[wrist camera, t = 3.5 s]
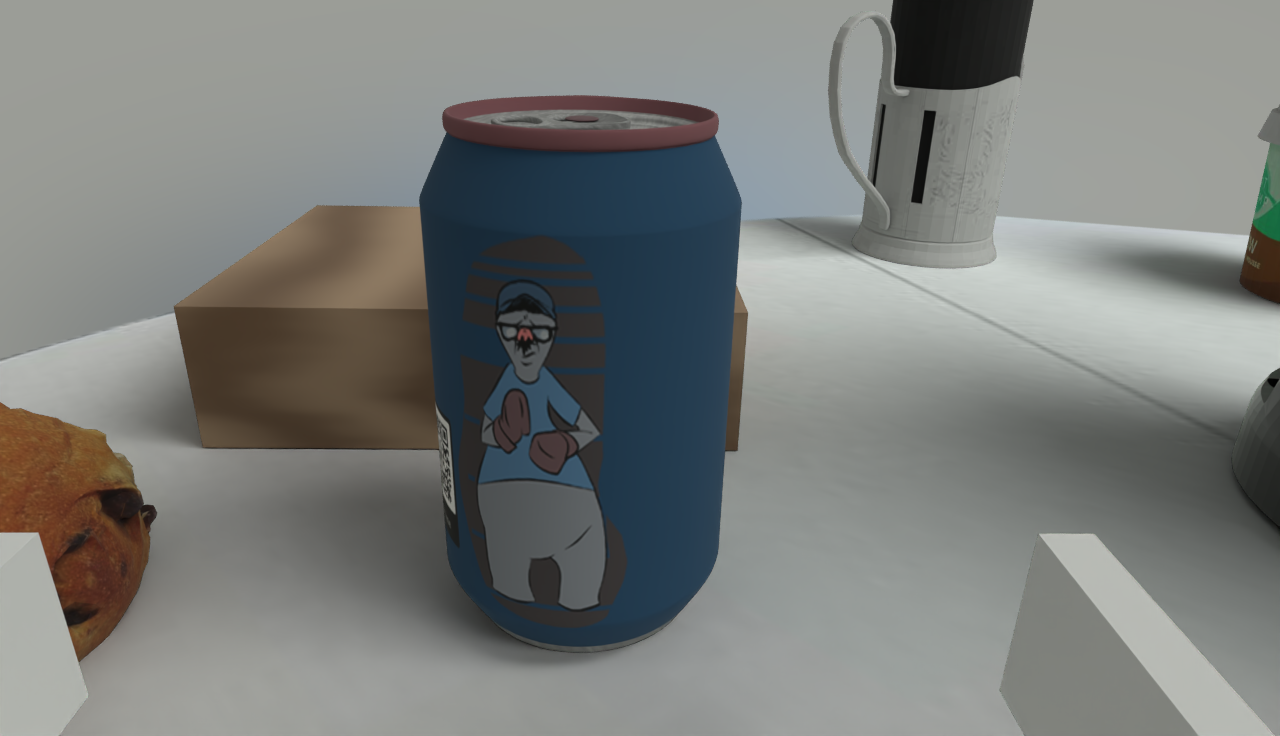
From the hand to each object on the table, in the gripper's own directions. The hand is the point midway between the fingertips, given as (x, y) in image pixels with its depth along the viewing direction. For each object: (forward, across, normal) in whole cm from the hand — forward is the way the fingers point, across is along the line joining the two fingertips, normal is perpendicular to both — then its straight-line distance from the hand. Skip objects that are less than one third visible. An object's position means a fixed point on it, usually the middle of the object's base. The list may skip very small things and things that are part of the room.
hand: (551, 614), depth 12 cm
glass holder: (+41, +18, -7) cm, 46 cm away
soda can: (+9, 0, -7) cm, 11 cm away
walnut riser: (+23, -4, -6) cm, 24 cm away
